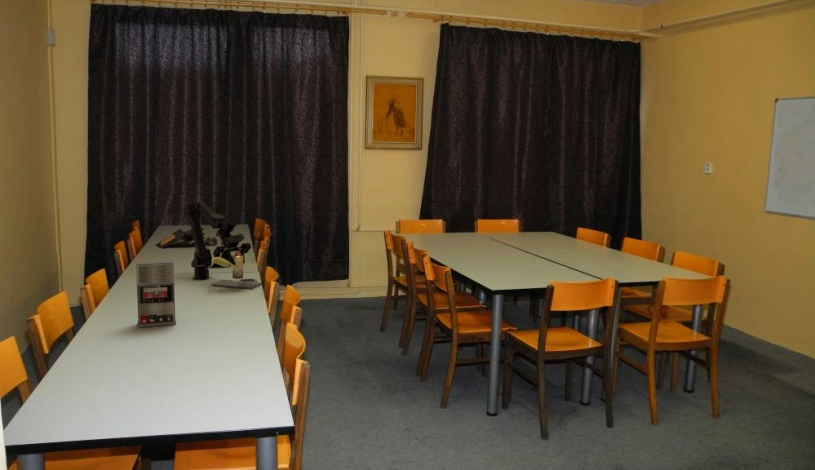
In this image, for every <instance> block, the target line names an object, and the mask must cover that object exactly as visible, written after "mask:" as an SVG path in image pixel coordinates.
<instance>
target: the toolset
mask: <svg viewBox="0 0 815 470" xmlns="http://www.w3.org/2000/svg"><path fill="white" fill-rule="evenodd" d="M201 229H202V233H203V238H204V239H205V245H207V246H209V247H212V246H217V243H218V241H219V239H217V236H214V237H211V238H210V237H209V236H207V235H206V231H207V230H205V228H204V227H201ZM179 241H183V242H185V243H186V244H187V245H189V246H190V245H191V244H195V243H194V239H193V234H192V230H191V229H189V230H185V231H184V230H183V229H182V228H179V229H178V230H176V231H174V232H172V233H171V235H169V236H168V237H165V238H163V239H162V240H160V241H159V242H158V243H156V244H155V245H156V246H158V248H159V249H164V248H165V247H168V246H170V245H173V244H174V243H176V242H179Z"/></svg>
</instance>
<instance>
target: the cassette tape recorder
mask: <svg viewBox="0 0 815 470" xmlns="http://www.w3.org/2000/svg"><path fill="white" fill-rule="evenodd" d="M174 264H175V262H174V260H173V259H172V260H171V259H170V260H152V261H151V260H150V261H135V270H136V271H135V272H136V294H137V295H136V297H137V299H136V300H137V328H143V327H144V328H147V327H157V326H171V325H172V326H174V325H176V324H177V321H176V304H175V303H176V301H175V296H176V295H175V265H174Z"/></svg>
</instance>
